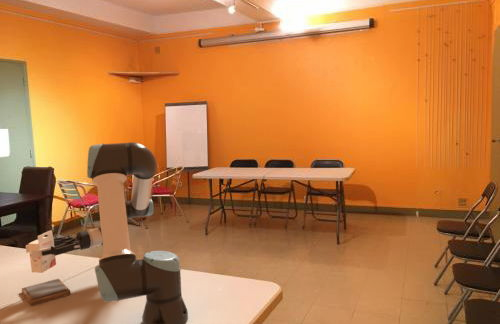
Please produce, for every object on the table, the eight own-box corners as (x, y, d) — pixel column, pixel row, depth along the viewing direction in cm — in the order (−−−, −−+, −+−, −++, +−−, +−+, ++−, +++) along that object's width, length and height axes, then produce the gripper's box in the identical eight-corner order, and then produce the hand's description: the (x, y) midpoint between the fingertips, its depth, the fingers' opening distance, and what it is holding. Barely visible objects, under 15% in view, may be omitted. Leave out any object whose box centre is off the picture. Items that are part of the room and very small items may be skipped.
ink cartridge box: (45, 264, 169) (42, 229, 167) (56, 265, 168) (53, 229, 166) (30, 272, 161) (27, 235, 159) (42, 273, 160) (38, 236, 158)
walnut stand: (70, 294, 164) (70, 289, 164) (31, 305, 155) (30, 300, 155) (59, 282, 176) (58, 277, 176) (22, 292, 167) (21, 287, 167)
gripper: (98, 254, 167) (36, 269, 153) (80, 241, 183) (23, 254, 169) (96, 236, 166) (34, 249, 152) (79, 225, 182) (21, 236, 168)
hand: (28, 252), depth 160 cm, fingers closed on ink cartridge box, 9 cm apart
